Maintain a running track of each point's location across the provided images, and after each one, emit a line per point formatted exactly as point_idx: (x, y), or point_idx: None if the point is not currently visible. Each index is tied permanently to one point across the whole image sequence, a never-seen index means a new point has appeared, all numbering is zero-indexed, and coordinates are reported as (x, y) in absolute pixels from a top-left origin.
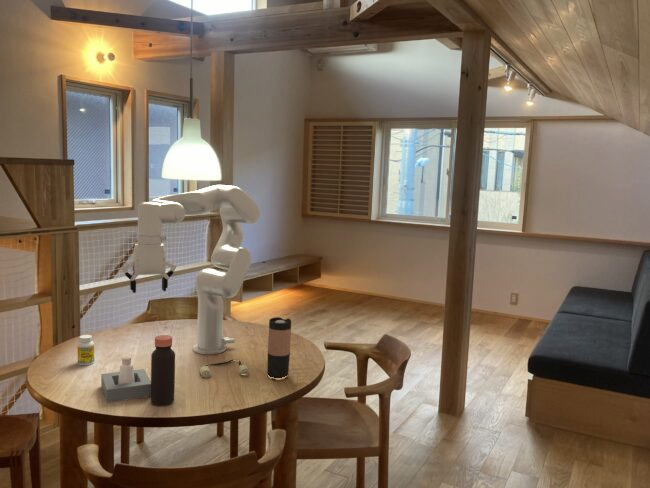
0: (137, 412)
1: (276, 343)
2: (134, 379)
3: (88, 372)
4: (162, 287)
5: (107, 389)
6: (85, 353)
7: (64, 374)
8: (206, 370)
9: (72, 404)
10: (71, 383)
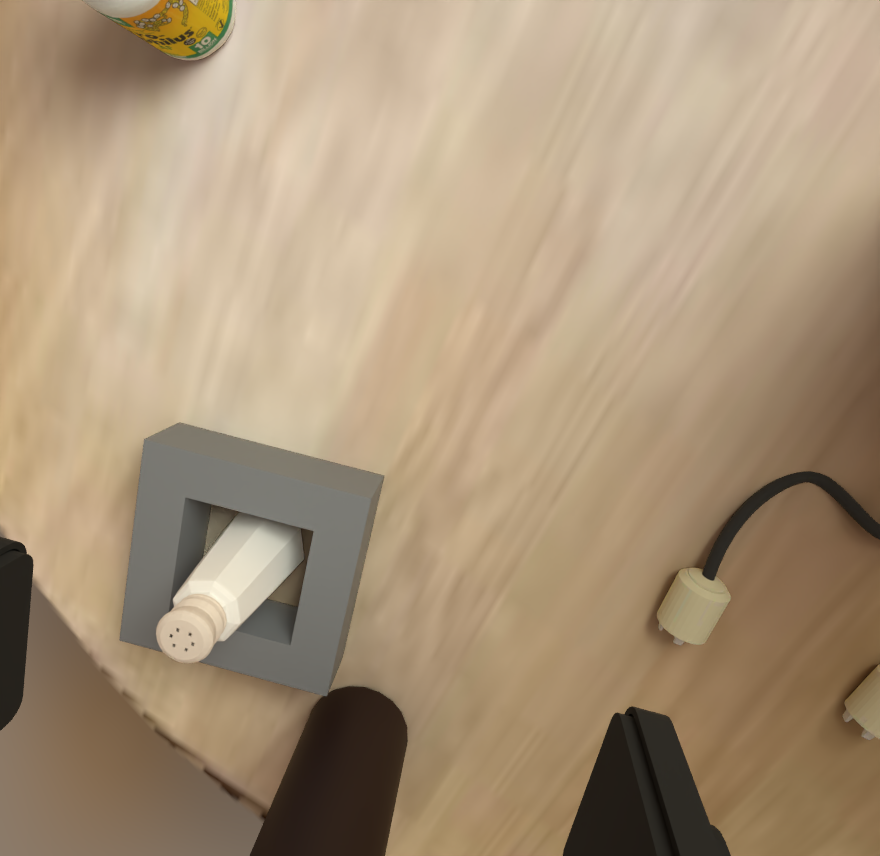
0: (235, 751)
1: None
2: (281, 581)
3: (166, 190)
4: (606, 796)
5: (123, 639)
6: (130, 30)
7: (45, 146)
8: (687, 642)
9: (28, 541)
10: (59, 303)
